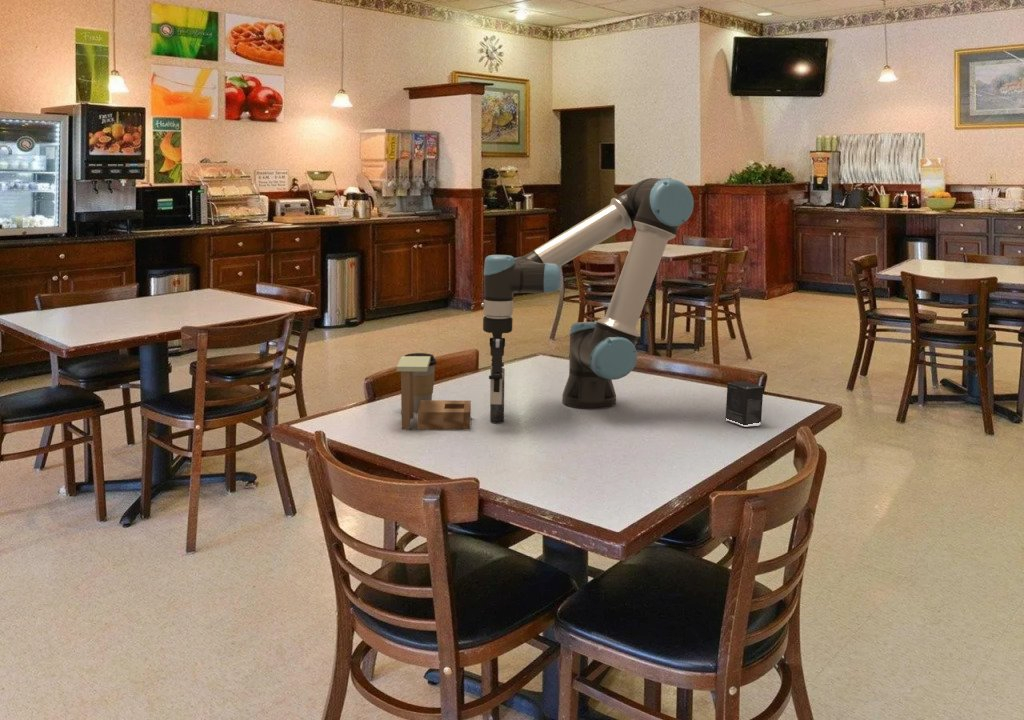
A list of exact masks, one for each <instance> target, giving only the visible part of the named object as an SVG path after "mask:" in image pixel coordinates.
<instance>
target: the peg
mask: <svg viewBox="0 0 1024 720" xmlns="http://www.w3.org/2000/svg"><path fill="white" fill-rule="evenodd" d="M505 370H506V369H505V368H504V367H502V404H491V379H489V381H490V390H489V392H490V394H489V395H490V396H489V397H490V398H489V400H490V402H489V403H490V405H489V407H490V410H489V411H490V412H489V413H490V414H489V417H490V418H489V422H490V423H493V424H502V423H505V376H506V375H505ZM490 376H492V368H490Z"/></svg>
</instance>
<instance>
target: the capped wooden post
mask: <svg viewBox="0 0 1024 720" xmlns="http://www.w3.org/2000/svg"><path fill="white" fill-rule="evenodd" d="M429 364H430V356H405V355H403V356H401V357H400V359H399V361H398V363H397V365H396V372H400V390H401V391H400V393H401V394H400V396H401V397H400V398H401V399H400V401H401V403H400V404H401V405H400V407H401V409H400V410H401V430H411V420H413V419H414V418H415V417H414V414H415V413H414V406H413V371H419V372H427V370H428V367H429Z"/></svg>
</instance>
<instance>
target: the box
mask: <svg viewBox="0 0 1024 720" xmlns="http://www.w3.org/2000/svg"><path fill="white" fill-rule="evenodd" d="M726 386H727V387H726V390H727V391H726V404H725V405H726V406H725V419H726V418H727V419H729V420H732V421H735V422H738V423H740V424H743V425H748V424H753V423H759V422H761V423H762V414H763V413H762V412H763V411H762V410H763V401H764V400H763V397H764V386H761V385H758V384H756V383H751V382H749V381H745V380H739V381H730V382H727V385H726Z"/></svg>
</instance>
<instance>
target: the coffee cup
mask: <svg viewBox="0 0 1024 720" xmlns="http://www.w3.org/2000/svg"><path fill="white" fill-rule="evenodd" d="M404 356H430V364H429V367H428V370H427V372H419V371H413V406H414V414H417V412H418V409H419V405H420V402H421V400H432V399H433V393H434V387H435V386H434V384H435V375H436V373H435V367H436V365H437V359H436V358H435V356H434V354H431V353H425V352H414V353H413V352H412V353H407V354H404Z"/></svg>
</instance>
